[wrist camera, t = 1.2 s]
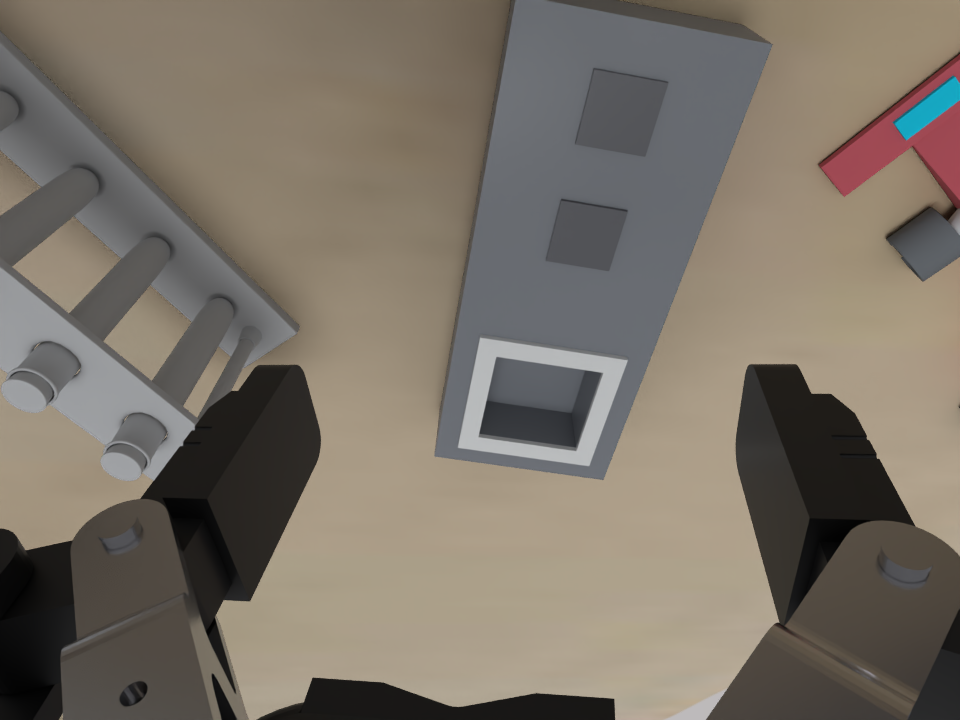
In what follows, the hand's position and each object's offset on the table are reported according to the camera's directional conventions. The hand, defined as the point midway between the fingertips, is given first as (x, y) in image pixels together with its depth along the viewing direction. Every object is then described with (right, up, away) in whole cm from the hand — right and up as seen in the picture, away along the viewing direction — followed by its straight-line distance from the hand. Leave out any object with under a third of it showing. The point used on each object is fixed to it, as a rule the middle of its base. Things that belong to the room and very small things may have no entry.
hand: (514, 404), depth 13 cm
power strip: (+4, +6, +24) cm, 25 cm away
